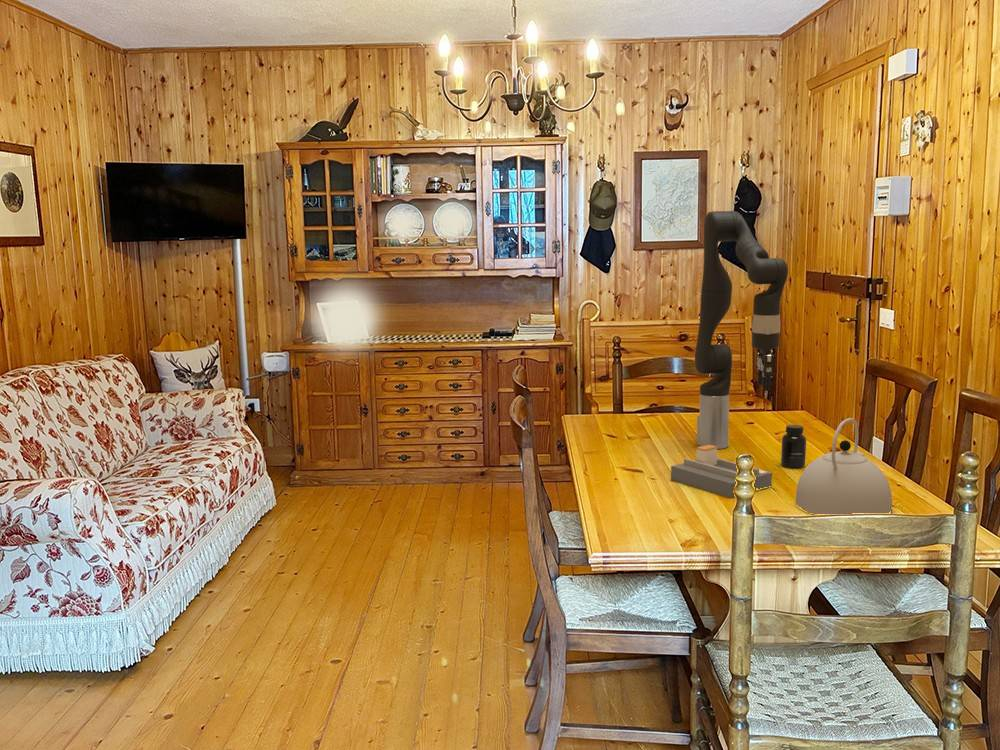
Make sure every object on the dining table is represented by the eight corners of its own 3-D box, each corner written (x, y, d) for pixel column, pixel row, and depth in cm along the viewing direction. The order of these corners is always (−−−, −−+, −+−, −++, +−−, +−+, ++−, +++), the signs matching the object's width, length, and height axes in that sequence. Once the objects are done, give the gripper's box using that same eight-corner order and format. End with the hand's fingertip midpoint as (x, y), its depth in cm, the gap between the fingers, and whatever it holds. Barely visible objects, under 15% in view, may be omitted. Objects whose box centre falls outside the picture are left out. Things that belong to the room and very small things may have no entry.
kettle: (817, 486, 235) (819, 405, 232) (905, 501, 221) (910, 414, 217) (781, 510, 216) (783, 422, 213) (875, 528, 202) (880, 434, 198)
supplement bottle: (795, 470, 251) (796, 429, 249) (776, 465, 256) (777, 425, 254) (810, 466, 254) (811, 426, 252) (791, 461, 260) (792, 422, 258)
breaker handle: (696, 465, 243) (696, 447, 242) (709, 462, 246) (709, 444, 245) (704, 467, 241) (704, 449, 240) (717, 464, 243) (717, 446, 243)
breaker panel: (671, 479, 245) (671, 460, 244) (710, 469, 253) (710, 451, 252) (731, 498, 227) (731, 477, 226) (771, 487, 235) (772, 467, 234)
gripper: (748, 327, 248) (746, 383, 251) (755, 334, 234) (754, 392, 237) (775, 327, 247) (773, 383, 250) (784, 333, 233) (782, 392, 236)
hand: (764, 387), depth 243 cm, fingers open, 8 cm apart
